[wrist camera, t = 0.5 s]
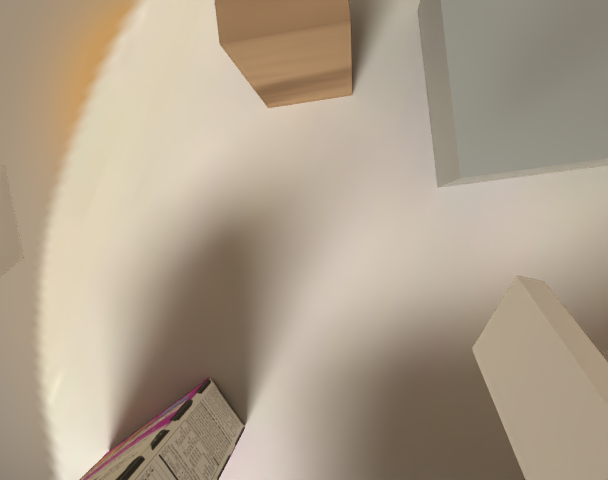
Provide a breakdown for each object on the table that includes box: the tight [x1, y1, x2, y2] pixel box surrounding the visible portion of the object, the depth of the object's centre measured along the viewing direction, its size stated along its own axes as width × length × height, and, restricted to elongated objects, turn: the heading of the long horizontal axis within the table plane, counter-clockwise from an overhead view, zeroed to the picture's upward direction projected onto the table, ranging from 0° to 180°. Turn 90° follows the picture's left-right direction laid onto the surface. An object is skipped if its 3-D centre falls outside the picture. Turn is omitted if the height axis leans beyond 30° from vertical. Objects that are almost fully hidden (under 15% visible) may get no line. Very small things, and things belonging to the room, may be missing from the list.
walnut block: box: [215, 0, 352, 108], centre depth 22 cm, size 6×6×10 cm
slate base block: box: [418, 0, 608, 188], centre depth 23 cm, size 12×12×6 cm
